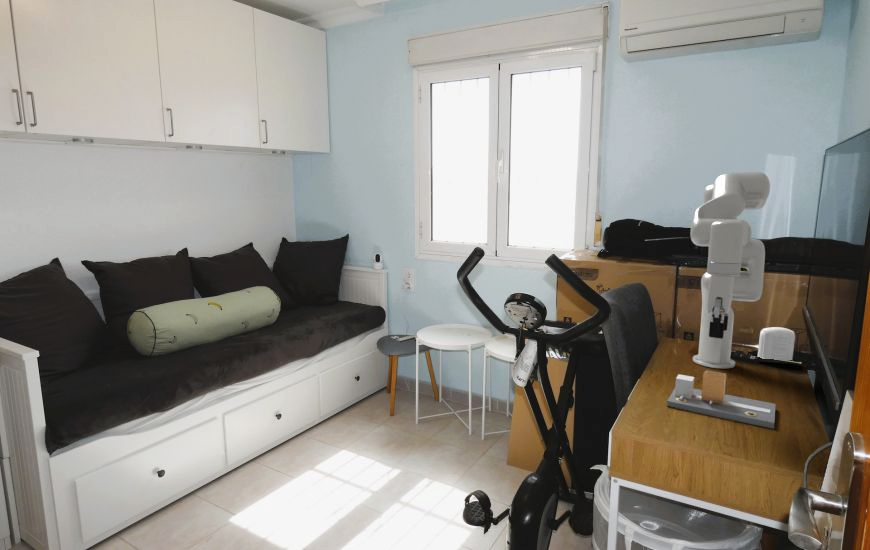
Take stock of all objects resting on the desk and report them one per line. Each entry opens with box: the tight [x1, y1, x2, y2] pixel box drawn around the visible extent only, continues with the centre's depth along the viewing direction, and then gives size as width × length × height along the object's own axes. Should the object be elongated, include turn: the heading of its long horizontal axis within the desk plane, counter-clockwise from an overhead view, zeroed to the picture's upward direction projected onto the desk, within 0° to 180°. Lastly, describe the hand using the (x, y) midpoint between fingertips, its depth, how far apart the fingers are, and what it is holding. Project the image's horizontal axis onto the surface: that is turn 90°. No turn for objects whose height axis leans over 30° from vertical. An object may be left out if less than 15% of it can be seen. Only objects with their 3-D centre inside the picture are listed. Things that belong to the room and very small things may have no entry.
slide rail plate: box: [666, 374, 776, 430], centre depth 136 cm, size 14×24×6 cm, turn 56°
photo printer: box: [757, 326, 796, 361], centre depth 172 cm, size 10×4×12 cm, turn 81°
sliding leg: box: [701, 369, 727, 404], centre depth 135 cm, size 7×5×7 cm
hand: (718, 333), depth 134 cm, fingers open, 9 cm apart
